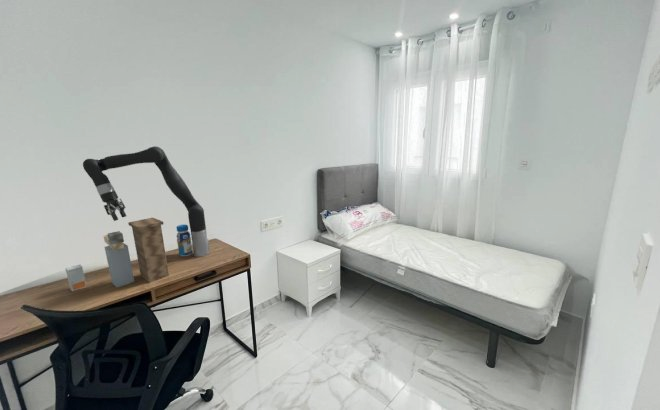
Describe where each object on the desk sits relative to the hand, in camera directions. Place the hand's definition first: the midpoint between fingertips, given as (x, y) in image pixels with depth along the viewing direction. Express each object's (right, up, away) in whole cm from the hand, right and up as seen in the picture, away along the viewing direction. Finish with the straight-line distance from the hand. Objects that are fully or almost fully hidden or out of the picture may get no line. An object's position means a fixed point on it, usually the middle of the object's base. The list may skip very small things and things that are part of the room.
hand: (120, 218), depth 164 cm
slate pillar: (+9, -34, -10) cm, 37 cm away
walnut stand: (+22, -32, -3) cm, 39 cm away
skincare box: (-10, -36, -16) cm, 41 cm away
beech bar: (+7, -13, -13) cm, 20 cm away
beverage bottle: (+25, -25, +26) cm, 44 cm away
